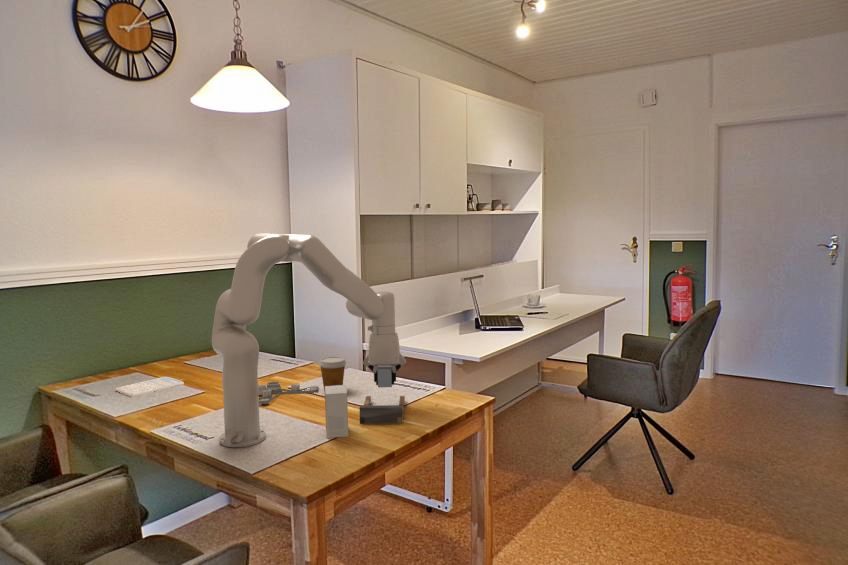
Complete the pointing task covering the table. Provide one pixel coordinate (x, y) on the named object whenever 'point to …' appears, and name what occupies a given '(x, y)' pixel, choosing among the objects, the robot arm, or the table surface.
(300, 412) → the table surface
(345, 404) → the small box
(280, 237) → the robot arm
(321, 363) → the disposable coffee cup
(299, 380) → the table surface
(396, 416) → the guide channel
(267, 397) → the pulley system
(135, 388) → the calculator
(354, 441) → the table surface
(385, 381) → the block
